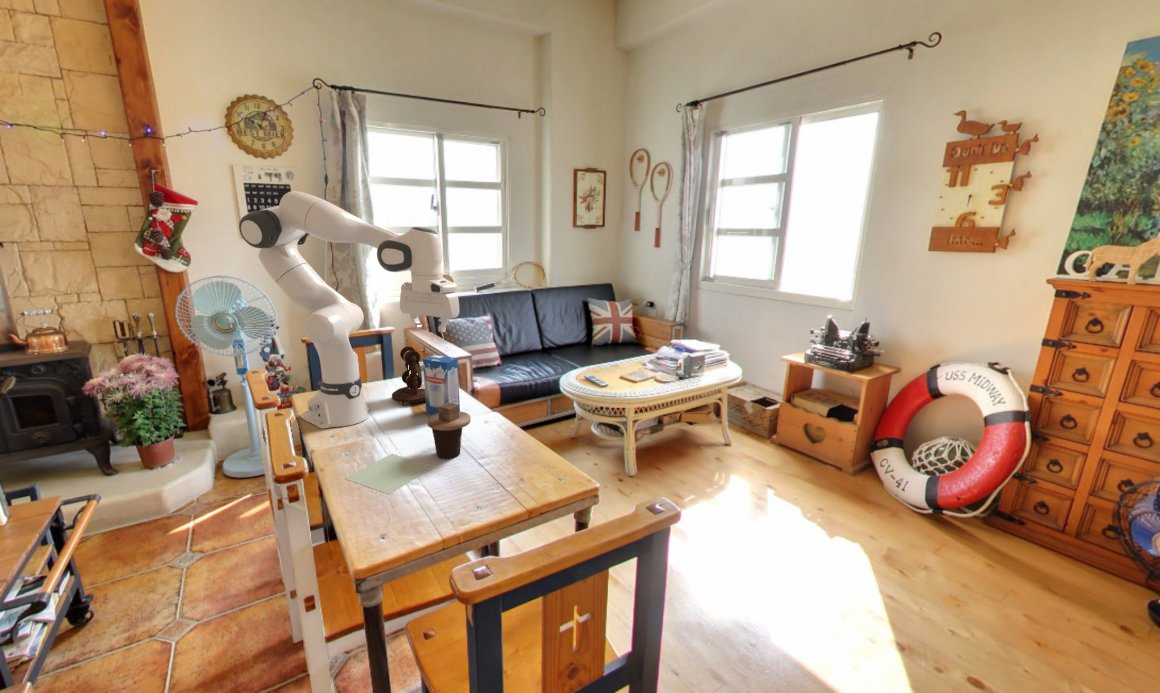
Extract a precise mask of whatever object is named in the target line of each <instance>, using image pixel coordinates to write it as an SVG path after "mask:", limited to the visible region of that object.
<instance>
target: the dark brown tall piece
mask: <svg viewBox="0 0 1160 693" xmlns="http://www.w3.org/2000/svg"><path fill="white" fill-rule="evenodd" d="M399 353H400V354H399V356H400V358H401V360H403V361H404V362H405V363H404V367H405V369H406V370H405V371H404V372H403V373H402V375H401V380H402V382H403V383H404V384H406V386H404V387H401V388H398V389H396V390H394V391H393V392H392V394H391V399H392V400H393V401H395V402H397V403H398V402H399V403H401V406H405V404H406V403H407V404H409V403H418V402H423V401H425V389H418V388H420V387H421V386H423V376H422V369H421V365H420V361H421V355H420V353H419V352H418V350H415V349H414V347H412V346H405V347H403V348H402V349H401V350H400V352H399ZM408 365H409V370H408ZM410 370H411V374H410V375H409V371H410ZM417 374H418V375H417ZM409 388H410V389H409Z"/></svg>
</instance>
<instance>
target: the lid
mask: <svg viewBox="0 0 1160 693" xmlns="http://www.w3.org/2000/svg"><path fill="white" fill-rule="evenodd" d="M438 411H439V413H436V414H434V415H430V416H429V417H428V418H427V421H426V422H427V426H428V427H429V428H430V429H431V430H432V429H435V430H443V431H447V430H455V429H460V428H462V429H463V428H465V427H467V426H468V425H469V424H470V423H471V415H470V414H469V413H467V412H466V411H465V412H464V411H461V410H460V411H459V405H458V404H453V403H449V402H447V403H445V404H443V405H441V406H438Z"/></svg>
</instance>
